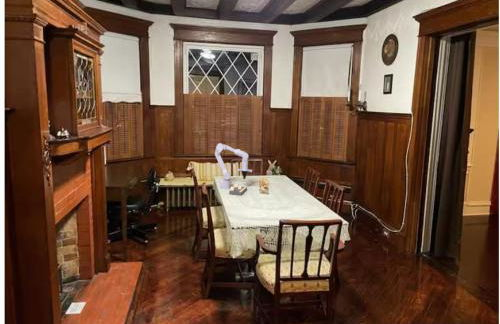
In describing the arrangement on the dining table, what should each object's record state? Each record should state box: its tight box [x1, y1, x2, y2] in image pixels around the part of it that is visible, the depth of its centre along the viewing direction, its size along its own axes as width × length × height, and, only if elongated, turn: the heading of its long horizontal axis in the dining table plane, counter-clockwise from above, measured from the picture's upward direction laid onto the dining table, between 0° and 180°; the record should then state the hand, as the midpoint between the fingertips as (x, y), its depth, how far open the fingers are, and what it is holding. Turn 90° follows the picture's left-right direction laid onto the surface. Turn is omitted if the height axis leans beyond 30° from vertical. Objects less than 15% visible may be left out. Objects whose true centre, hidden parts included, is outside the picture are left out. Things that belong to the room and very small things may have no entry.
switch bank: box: [228, 186, 248, 197], centre depth 343 cm, size 11×21×3 cm, turn 166°
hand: (244, 178), depth 358 cm, fingers closed
